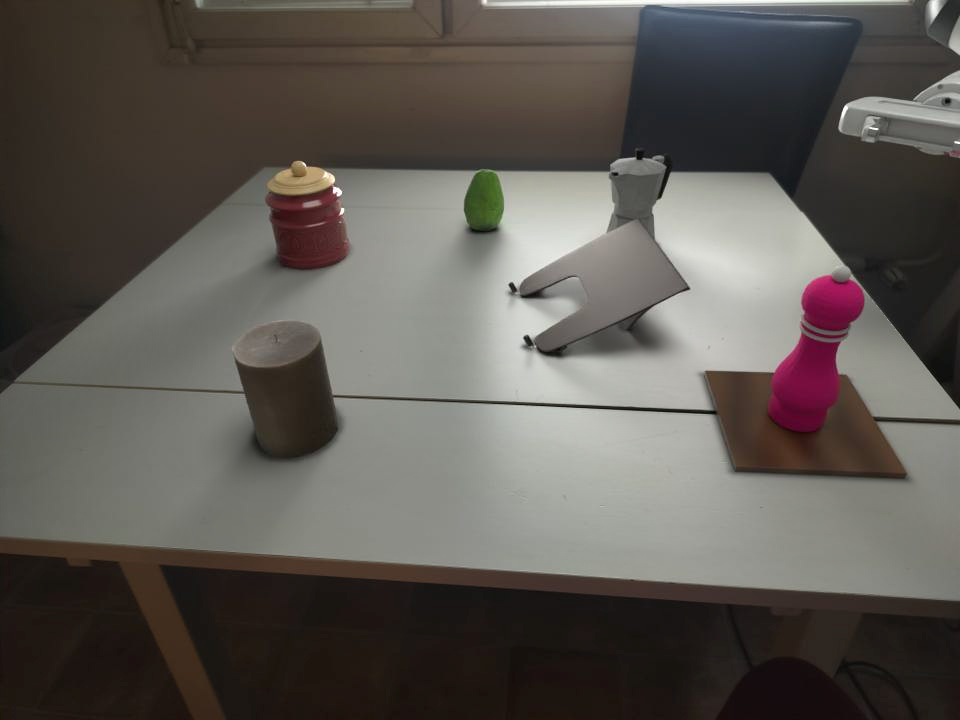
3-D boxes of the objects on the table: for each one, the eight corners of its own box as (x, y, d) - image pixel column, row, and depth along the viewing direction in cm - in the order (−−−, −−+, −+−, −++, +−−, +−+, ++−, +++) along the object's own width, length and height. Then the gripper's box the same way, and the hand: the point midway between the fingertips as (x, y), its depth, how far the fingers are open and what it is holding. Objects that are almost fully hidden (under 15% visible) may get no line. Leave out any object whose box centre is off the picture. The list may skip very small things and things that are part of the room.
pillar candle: (346, 449, 79) (326, 345, 71) (262, 471, 77) (231, 365, 68) (331, 402, 87) (312, 302, 78) (254, 420, 84) (225, 319, 75)
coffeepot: (622, 266, 116) (633, 164, 105) (584, 247, 122) (591, 149, 112) (681, 242, 123) (697, 144, 113) (643, 225, 129) (654, 132, 119)
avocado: (511, 233, 128) (511, 172, 121) (473, 241, 126) (471, 179, 119) (494, 218, 134) (493, 159, 127) (458, 225, 132) (455, 165, 125)
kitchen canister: (300, 238, 128) (282, 146, 118) (362, 245, 125) (349, 151, 115) (265, 269, 118) (242, 171, 108) (331, 277, 115) (314, 177, 105)
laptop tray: (528, 314, 115) (504, 273, 109) (653, 252, 110) (634, 206, 105) (554, 397, 96) (526, 352, 91) (705, 326, 91) (685, 274, 86)
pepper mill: (830, 441, 76) (888, 287, 65) (763, 428, 78) (807, 277, 67) (825, 403, 82) (878, 255, 70) (763, 392, 84) (804, 247, 72)
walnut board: (843, 383, 87) (846, 374, 86) (902, 483, 73) (907, 473, 72) (703, 379, 89) (704, 370, 88) (733, 476, 74) (736, 466, 73)
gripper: (868, 79, 89) (827, 100, 81) (1055, 103, 77) (1028, 130, 69) (854, 127, 93) (814, 152, 85) (1031, 157, 81) (1003, 189, 73)
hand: (912, 142), depth 77 cm, fingers open, 8 cm apart
